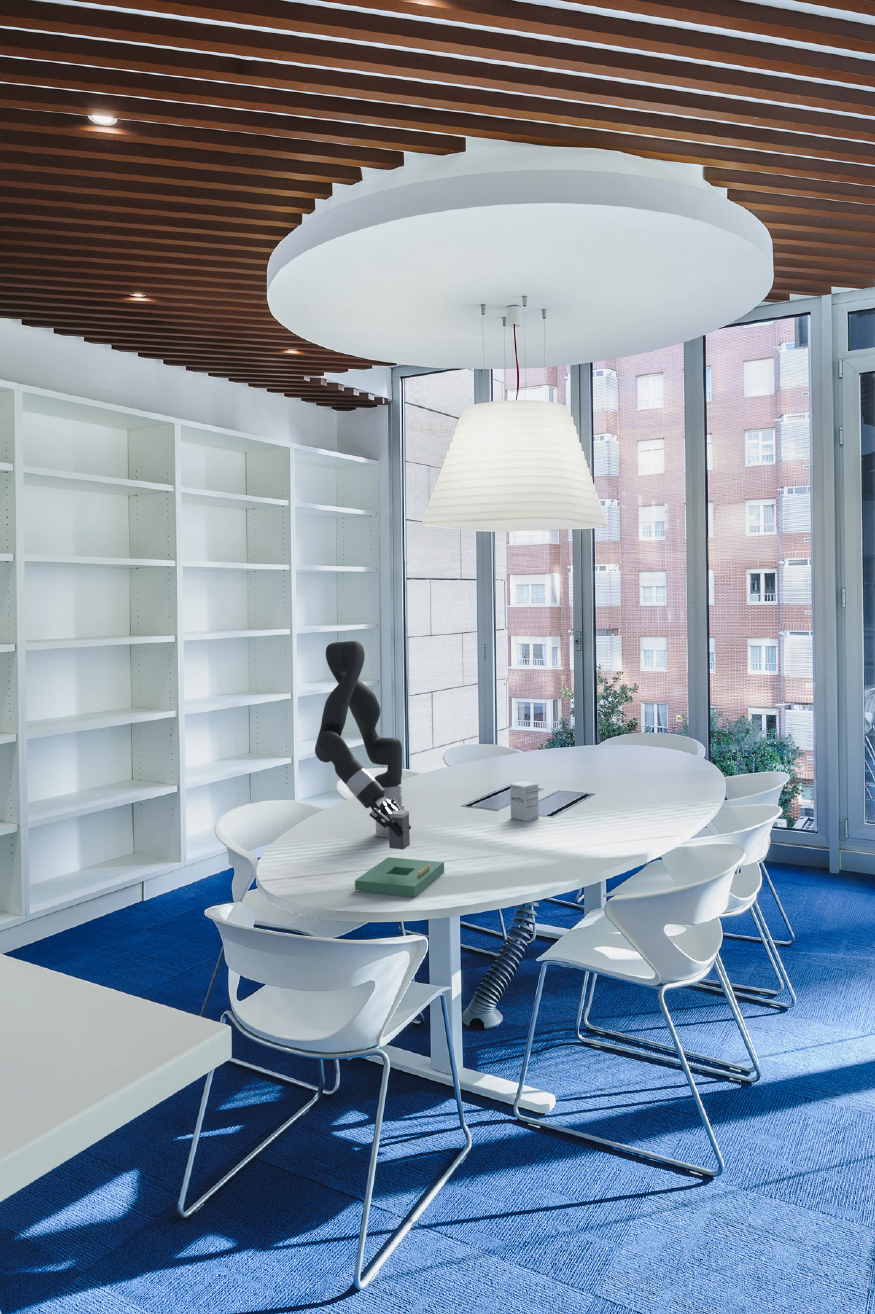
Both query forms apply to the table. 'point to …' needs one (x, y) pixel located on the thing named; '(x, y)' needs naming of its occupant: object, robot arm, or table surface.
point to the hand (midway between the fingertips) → (405, 832)
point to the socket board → (400, 877)
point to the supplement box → (524, 800)
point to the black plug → (403, 821)
